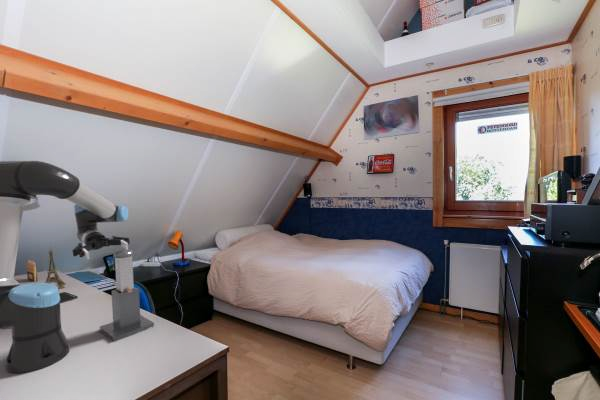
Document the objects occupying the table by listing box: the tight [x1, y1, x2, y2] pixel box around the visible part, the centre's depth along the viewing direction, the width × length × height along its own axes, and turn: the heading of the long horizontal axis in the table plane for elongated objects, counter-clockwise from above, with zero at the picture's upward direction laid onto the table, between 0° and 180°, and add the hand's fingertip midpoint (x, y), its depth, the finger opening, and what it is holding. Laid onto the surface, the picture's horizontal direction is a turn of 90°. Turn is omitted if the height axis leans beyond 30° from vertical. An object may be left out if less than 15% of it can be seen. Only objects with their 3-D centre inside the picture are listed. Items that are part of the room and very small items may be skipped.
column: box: [112, 249, 135, 293], centre depth 113 cm, size 6×6×28 cm
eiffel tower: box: [44, 243, 67, 290], centre depth 165 cm, size 11×11×25 cm
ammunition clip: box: [26, 259, 38, 283], centre depth 181 cm, size 11×2×12 cm, turn 57°
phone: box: [59, 291, 78, 304], centre depth 149 cm, size 8×1×15 cm
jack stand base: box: [99, 286, 155, 342], centre depth 114 cm, size 14×14×16 cm
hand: (108, 250), depth 119 cm, fingers open, 13 cm apart
